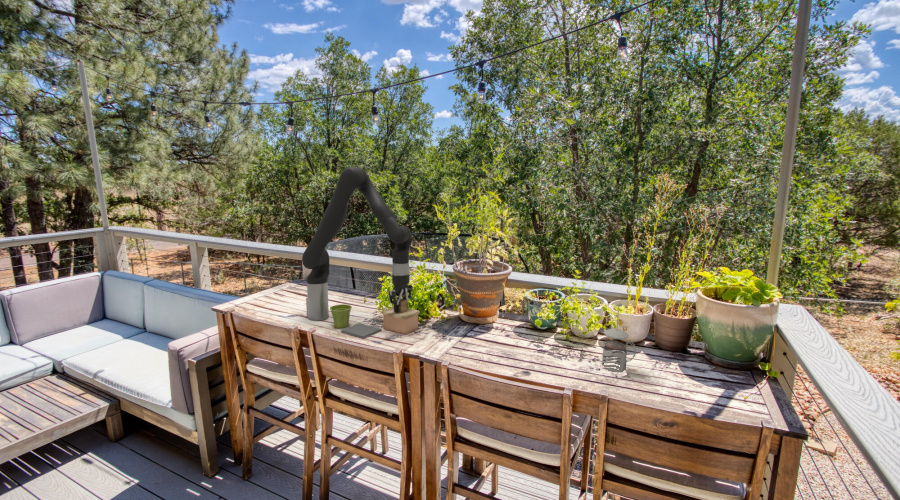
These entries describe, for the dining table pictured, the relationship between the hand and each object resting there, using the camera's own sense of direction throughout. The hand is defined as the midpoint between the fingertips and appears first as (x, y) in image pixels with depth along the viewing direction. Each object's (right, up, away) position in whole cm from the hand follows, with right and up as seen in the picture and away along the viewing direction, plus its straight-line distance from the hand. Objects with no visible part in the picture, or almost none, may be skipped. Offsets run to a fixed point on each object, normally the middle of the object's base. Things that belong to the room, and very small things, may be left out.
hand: (400, 310), depth 183 cm
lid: (0, -1, 0) cm, 1 cm away
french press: (+80, -16, -36) cm, 89 cm away
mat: (-17, -9, -3) cm, 19 cm away
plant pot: (-27, -8, +4) cm, 28 cm away
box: (0, -8, +1) cm, 8 cm away
